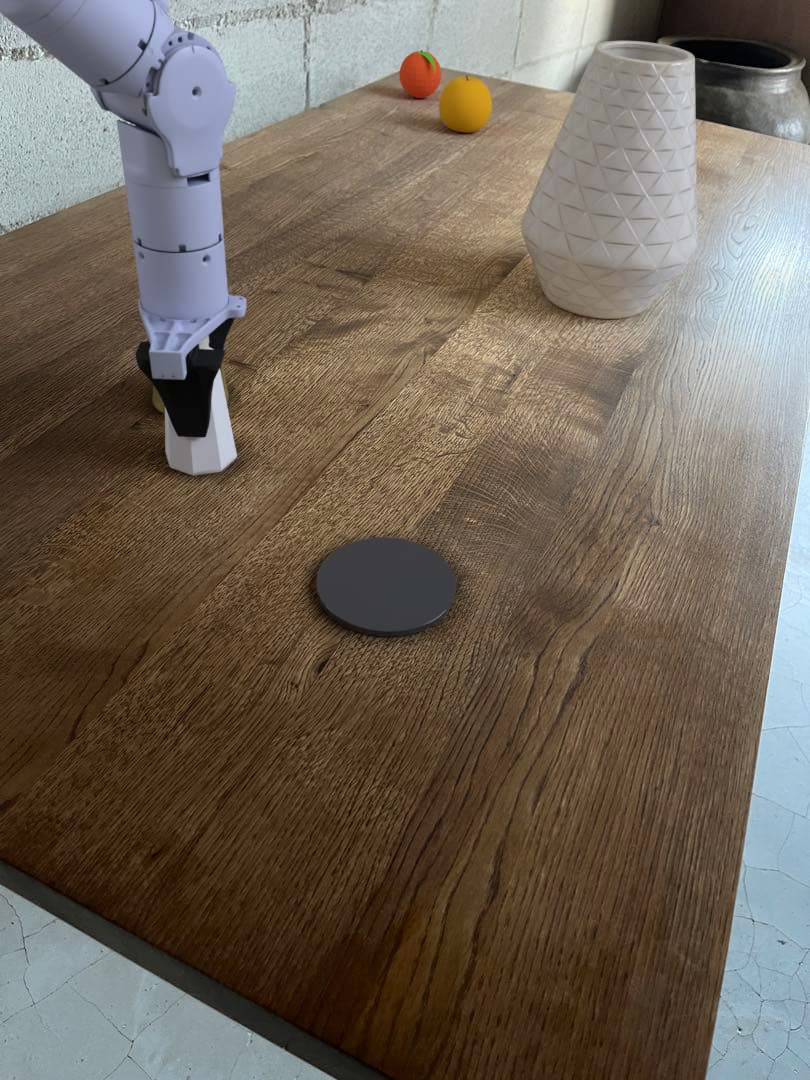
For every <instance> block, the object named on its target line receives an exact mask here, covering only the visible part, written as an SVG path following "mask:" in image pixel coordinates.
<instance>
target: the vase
mask: <svg viewBox="0 0 810 1080" xmlns="http://www.w3.org/2000/svg"><path fill="white" fill-rule="evenodd" d="M696 108H697V106H696V58H695V55H694V54H693V53H692V52H690V51H689V50H685V49H682V48H680V47H676V46H671V45H667V44H664V43H663V44H662V43H656V42H649V41H639V40H609V41H603V42H600V43H598V44H596V45H595V46H594V49H593V51H592V54H591V56H590V58H589V61H588V63H587V65H586V68H585V70H584V73H583V75H582V77H581V79H580V82H579V84H578V86H577V89H576V91H575V94H574V96H573V98H572V100H571V103H570V105H569V107H568V110H567V112H566V114H565V118H563V119H564V120H563V122H562V124H561V126H560V128H559V131H558V133H557V136H556V138H555V140H554V143H553V146H552V148H551V150H550V152H549V155H548V157H547V159H546V162H545V164H544V167H543V168H542V171H541V174H540V176H539V178H538V181H537V183H536V185H535V187H534V190H533V192H532V194H531V197H530V199H529V202H528V204H527V207H526V209H525V210H524V213H523V216H522V218H521V222H520V229H521V230H520V231H521V235H522V238H523V240H524V243H525V246H526V249H527V251H528V254H529V257H530V259H531V263H532V265H533V268H534V271H535V273H536V275H537V278H538V281H539V283H540V286H541V289H542V292H543V294H544V296H545V298H546V299H547V300H548V301H549V302H550V303H552V304H553V305H555V306H556V307H558V308H560V309H561V310H564V311H566V312H569V313H572V314H574V315H577V316H582V317H586V318H590V319H591V318H592V319H601V320H621V319H627V318H628V319H629V318H633V317H634V316H637V315H640V314H642V313H644V311H646V310H647V309H648V308H649V307H650V306H651V304H652V303H654V301H655V300H656V299H657V298H658V297H659V296H660V295H661V294H662V292H664V290H665V289H667V288H668V286H669V285H670V284H671V283H672V281H674V279H676V277H677V276H678V275H679V274H680V273H681V272H682V271H683V269H684V268H685V267H686V266H687V265H688V264H689V263H690V262H691V261H692V259H693V258H694V257H695V255H696V252H697V250H698V245H699V243H698V242H699V241H698V240H699V237H698V236H699V235H698V232H699V231H698V230H699V229H698V176H697V175H698V172H697V171H698V169H697V116H696V115H697V114H696V111H697V110H696Z"/></svg>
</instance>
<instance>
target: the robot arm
mask: <svg viewBox="0 0 810 1080" xmlns="http://www.w3.org/2000/svg"><path fill="white" fill-rule="evenodd" d="M169 10H170V3H168V1H167V0H0V14H1V15H2V16H3V17H5V18H6V19H7V20H8V21H9V22H11V23H12V24H13V25H14V26H16V28H18V29H19V30H20V31H22V32H23V33H25V35H27V36H28V37H29V38H30V39H32V40H33V41H34V42H35V43H36V44H37V45H39V46H41V47H42V49H44V50H45V51H47V53H49V54H50V55H52V56H53V58H55V59H56V60H57V61H58V62H60V63H61V64H62V65H63V66H64V67H66V68H67V69H69V70H70V71H71V72H72V73H74V74H75V75H76V76H77V77H78V78H79V79H81V80H82V81H83V82H85V84H87V85H88V86H89V89H90V91H91V93H92V95H93V98H94V100H95V101H96V103H97V104H98V106H99V107H100V108H101V110H103V111H105V112H110V113H111V114H114V115H115V116H116V117H118V118H119V119H116V126H117V127H116V128H117V133H118V134H117V135H118V141H119V148H120V155H121V163H122V164H121V165H122V170H123V179H124V185H125V186H124V187H125V192H126V200H127V207H128V216H129V223H130V230H131V238H132V246H133V252H134V260H135V261H134V262H135V267H136V274H137V275H136V276H137V283H138V289H139V291H138V292H139V296H140V297H139V298H138V301H137V305H138V312H139V316H140V319H141V322H142V325H143V328H144V331H145V333H146V336H147V340H148V339H149V342H148V341H145V340H144V341H141V340H140V342H139V344H138V347H137V349H136V351H135V359H136V361H135V362H136V364H137V367H138V369H139V371H140V372H142V374H144V376H145V377H146V378H147V379H148V380H149V381H150V382H151V384H152V386H153V385H154V387H155V388H156V390H157V391H158V393H159V395H160V397H161V399H162V401H163V403H164V406H165V408H166V410H167V413H168V415H169V418H170V420H171V423H172V425H173V428H174V430H175V432H176V434H177V436H179V437H203V438H204V437H206V435H207V431H208V427H209V422H210V414H211V400H212V390H213V383H214V379H215V377H216V375H217V373H218V371H219V369H220V372H221V364H222V362H223V361H224V358H225V355H226V350H225V349H224V348H225V344H226V341H227V338H228V334H229V332H230V330H231V328H232V325H233V324H234V322H235V319H241V318H244V317H245V315H246V313H247V308H248V305H247V298H246V297H244V296H241V295H232V294H230V293H229V289H228V276H227V274H228V273H227V262H226V247H225V231H224V218H223V204H222V191H221V189H222V188H221V178H220V177H221V175H220V164H221V163H220V160H221V159H223V158H224V151H223V137H224V131H225V129H226V127H227V125H228V123H229V121H230V119H231V116H232V113H233V110H234V106H235V103H236V93H237V84H236V83H235V82H234V81H232V80H231V79H228V75H227V71H226V68H225V66H224V64H223V63H224V62H223V59H222V57H221V55H220V53H219V52H218V50H217V49H216V47H214V45H213V44H212V43H211V42H210V41H208V39H207V38H205V37H203V36H202V35H199V34H197V33H194V32H191V31H188V30H184V29H182V28H178V27H174V25H173V21H172V19H171V17H170V15H169V14H168V11H169ZM231 81H232V82H231ZM208 335H209V344H208V345H209V348H212V349H214V350H212V349H199V343H200V342H201V341H202V340H203V339H204V338H206V337H207V336H208ZM223 363H224V362H223Z"/></svg>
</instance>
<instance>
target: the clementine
mask: <svg viewBox="0 0 810 1080" xmlns="http://www.w3.org/2000/svg"><path fill="white" fill-rule="evenodd" d="M398 75H399V77H398V78H399V82H400V85H401V87H402V88H403V90H404V92H405V93H406V94H408V95H409V96H410V97H413V98H415V99H424V98H428V97H430V96H431V95H433V94H434V93H436V91H437V89H438V88H439V86H440V85H441V84H440V83H441V79H442V69H441V65H440V63H439V61H438V59H437V58H436V57H435V56H434V55H433V54H432V53H430V52H428V51H424V50H423V49H421V50H420V51H419V50H418V51H414V52H413V51H412V52H411V53H409V54H408V55H407V56H406V57H405V58H404V60H403V61H402V62H401V65H400V68H399V72H398Z"/></svg>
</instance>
